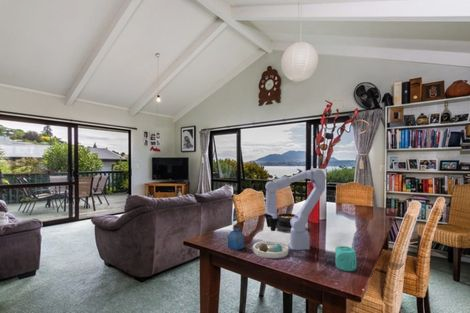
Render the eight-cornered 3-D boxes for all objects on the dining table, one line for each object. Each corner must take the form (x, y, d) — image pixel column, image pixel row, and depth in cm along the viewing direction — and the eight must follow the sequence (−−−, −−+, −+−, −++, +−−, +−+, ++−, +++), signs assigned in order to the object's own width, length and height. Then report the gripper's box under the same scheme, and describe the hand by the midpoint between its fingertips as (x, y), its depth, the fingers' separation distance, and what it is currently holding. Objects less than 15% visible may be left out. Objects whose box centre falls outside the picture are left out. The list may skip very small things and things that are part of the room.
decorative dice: (335, 269, 106) (335, 251, 106) (335, 262, 114) (335, 245, 114) (356, 272, 103) (356, 253, 104) (354, 265, 111) (354, 247, 111)
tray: (282, 244, 137) (282, 240, 137) (293, 257, 119) (293, 252, 119) (250, 245, 135) (250, 241, 135) (257, 259, 117) (257, 254, 117)
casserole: (295, 234, 156) (295, 221, 156) (268, 229, 166) (268, 217, 166) (306, 225, 177) (306, 213, 177) (282, 222, 187) (282, 211, 187)
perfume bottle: (235, 244, 137) (235, 223, 138) (244, 247, 134) (244, 224, 134) (227, 247, 133) (227, 225, 133) (236, 250, 129) (236, 227, 129)
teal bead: (280, 251, 125) (280, 242, 125) (283, 254, 121) (283, 245, 121) (272, 251, 125) (272, 242, 125) (274, 254, 120) (274, 245, 121)
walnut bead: (268, 249, 125) (265, 241, 126) (269, 251, 121) (266, 243, 122) (260, 253, 125) (257, 244, 126) (261, 255, 121) (258, 246, 121)
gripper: (261, 201, 140) (261, 225, 140) (267, 206, 126) (267, 232, 126) (273, 201, 141) (273, 225, 141) (280, 206, 127) (280, 232, 127)
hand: (271, 228), depth 133 cm, fingers open, 7 cm apart
